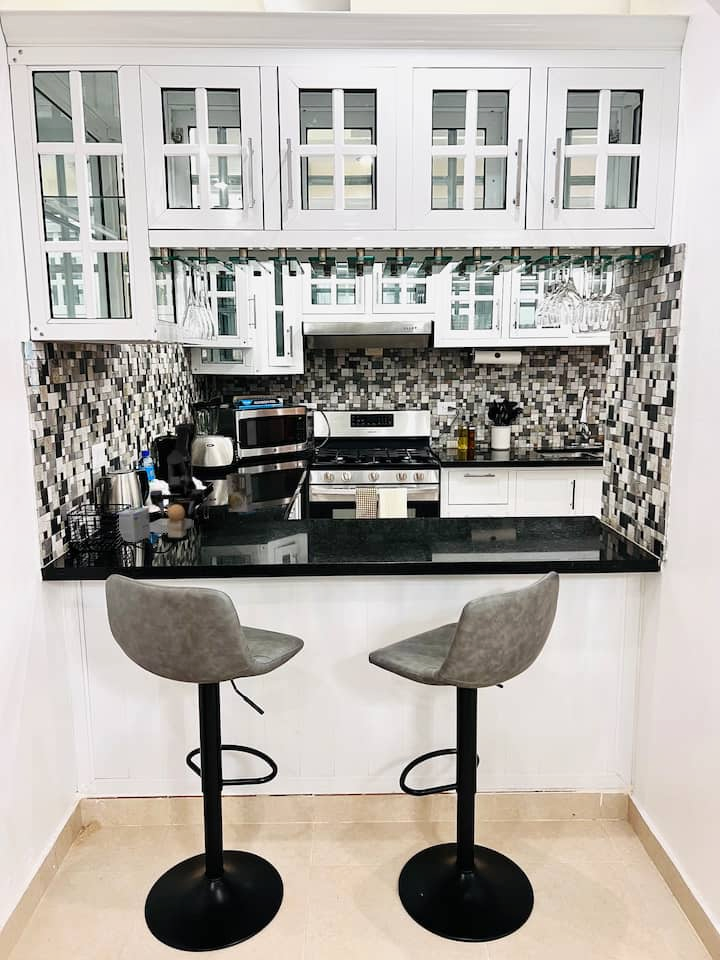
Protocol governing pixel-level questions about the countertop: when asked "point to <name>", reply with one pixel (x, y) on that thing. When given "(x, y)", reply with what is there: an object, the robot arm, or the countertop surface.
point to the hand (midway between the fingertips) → (176, 515)
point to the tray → (165, 525)
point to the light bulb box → (134, 524)
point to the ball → (176, 512)
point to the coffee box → (239, 492)
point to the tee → (177, 528)
